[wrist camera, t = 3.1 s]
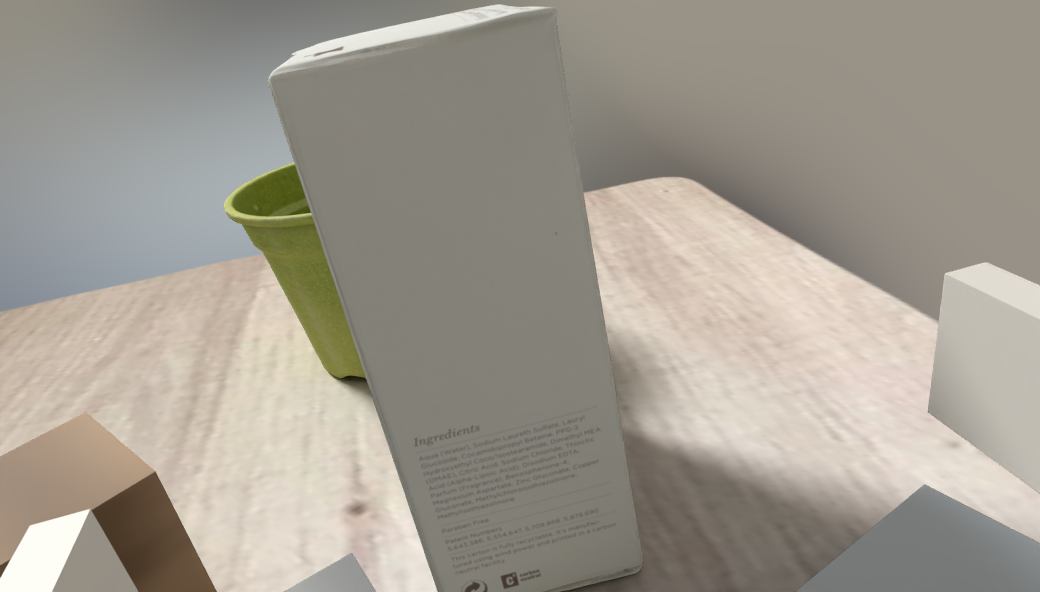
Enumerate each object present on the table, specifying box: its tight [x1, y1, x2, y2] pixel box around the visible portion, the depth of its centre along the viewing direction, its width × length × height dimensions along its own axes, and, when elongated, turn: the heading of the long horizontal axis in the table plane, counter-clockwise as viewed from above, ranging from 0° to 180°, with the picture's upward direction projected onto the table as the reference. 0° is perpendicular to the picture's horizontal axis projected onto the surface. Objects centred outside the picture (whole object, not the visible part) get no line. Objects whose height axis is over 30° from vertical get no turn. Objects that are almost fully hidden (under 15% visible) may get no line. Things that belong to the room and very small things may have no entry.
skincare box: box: [268, 4, 643, 592], centre depth 19 cm, size 8×6×15 cm
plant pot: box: [224, 163, 366, 378], centre depth 31 cm, size 9×9×9 cm
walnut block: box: [0, 412, 217, 592], centre depth 19 cm, size 5×5×6 cm
